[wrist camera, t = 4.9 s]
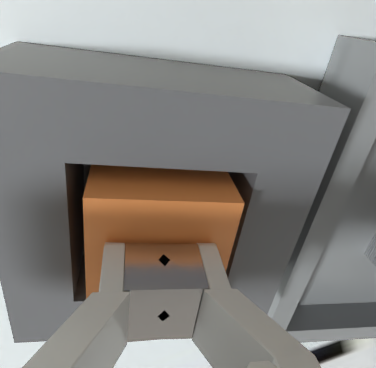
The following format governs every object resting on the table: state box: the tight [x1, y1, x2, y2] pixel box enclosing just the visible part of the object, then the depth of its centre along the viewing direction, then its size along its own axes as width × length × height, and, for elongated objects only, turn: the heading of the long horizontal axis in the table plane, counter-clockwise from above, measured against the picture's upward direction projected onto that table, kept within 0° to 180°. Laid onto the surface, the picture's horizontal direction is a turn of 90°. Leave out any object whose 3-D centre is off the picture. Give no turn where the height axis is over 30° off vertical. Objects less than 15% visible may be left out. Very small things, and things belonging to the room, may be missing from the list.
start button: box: [83, 165, 245, 299], centre depth 10 cm, size 4×4×3 cm
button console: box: [0, 42, 351, 343], centre depth 11 cm, size 9×9×4 cm
